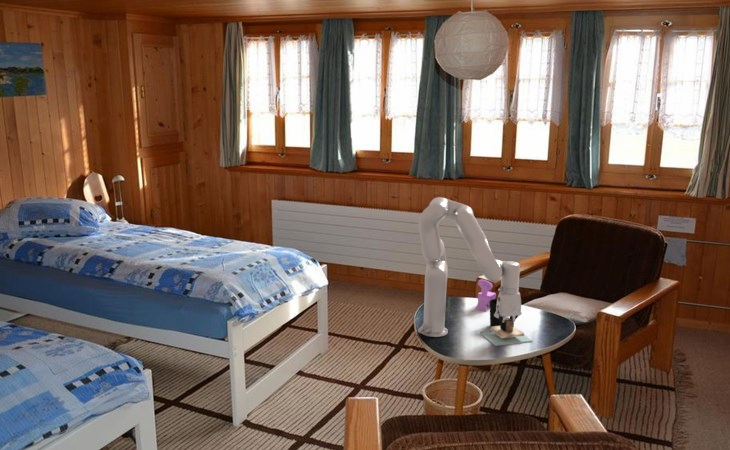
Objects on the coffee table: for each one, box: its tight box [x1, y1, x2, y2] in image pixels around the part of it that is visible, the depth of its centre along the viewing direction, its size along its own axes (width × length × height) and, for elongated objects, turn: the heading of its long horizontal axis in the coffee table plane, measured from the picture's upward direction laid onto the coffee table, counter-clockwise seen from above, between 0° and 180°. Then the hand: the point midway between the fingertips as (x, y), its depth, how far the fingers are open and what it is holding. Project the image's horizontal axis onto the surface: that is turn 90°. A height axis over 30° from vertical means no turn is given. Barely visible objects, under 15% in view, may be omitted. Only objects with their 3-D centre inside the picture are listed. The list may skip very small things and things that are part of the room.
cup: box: [489, 298, 501, 328], centre depth 300 cm, size 8×8×12 cm
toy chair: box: [475, 279, 497, 312], centre depth 325 cm, size 8×9×15 cm
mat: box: [480, 330, 533, 347], centre depth 288 cm, size 18×14×1 cm
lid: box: [489, 316, 525, 338], centre depth 287 cm, size 11×11×6 cm
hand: (506, 329), depth 288 cm, fingers closed on lid, 3 cm apart
